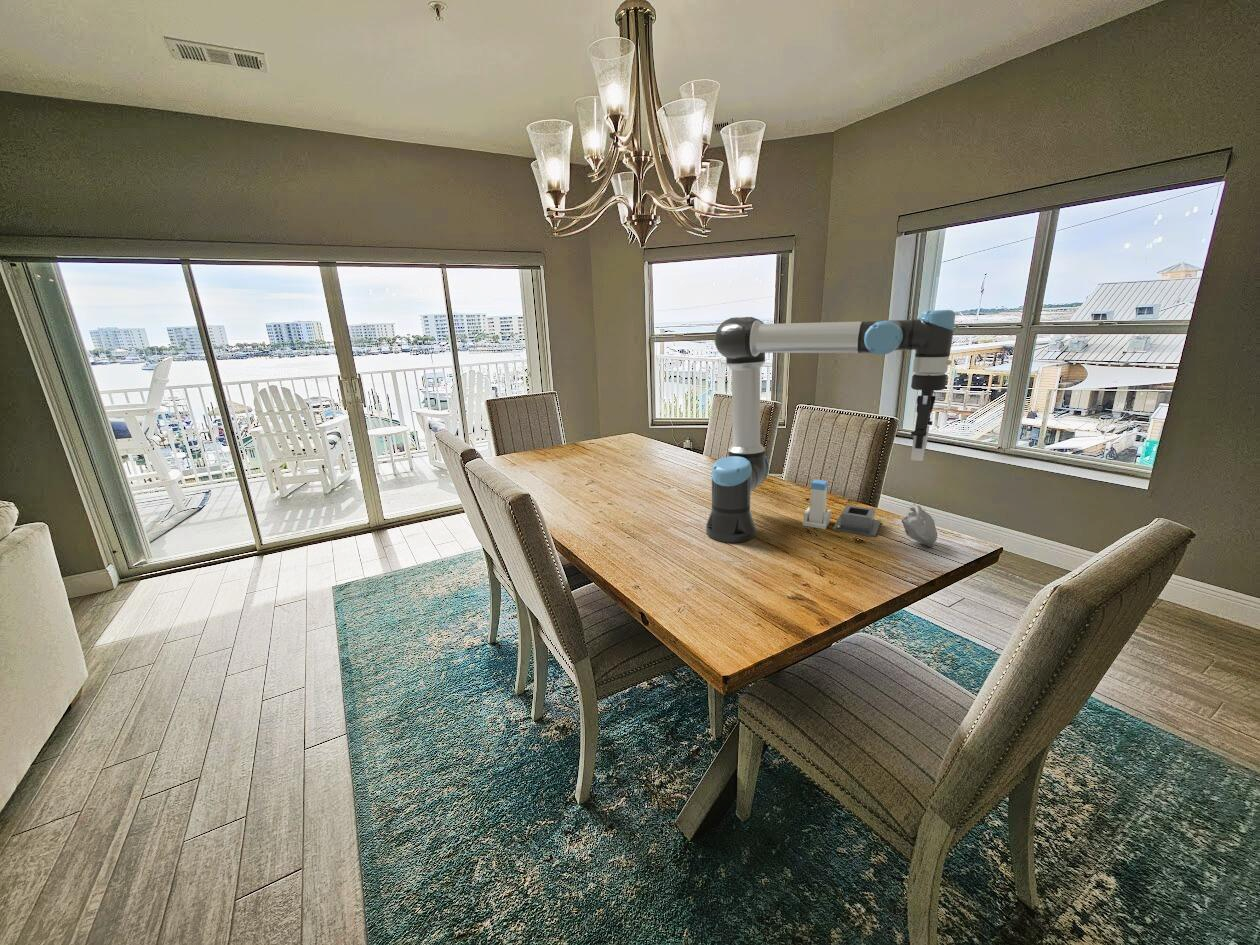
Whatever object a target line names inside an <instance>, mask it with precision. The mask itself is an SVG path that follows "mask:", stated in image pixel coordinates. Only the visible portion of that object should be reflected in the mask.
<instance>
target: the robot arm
mask: <svg viewBox="0 0 1260 945" xmlns="http://www.w3.org/2000/svg"><path fill="white" fill-rule="evenodd" d="M919 314H920V315H919V317H918V318H916V319H898V320H897V319H894V320H893V319H892V320H888V319H887V320H883V319H882V320H870V321H869V320H868V321H832V322H793V323H791V322H789V323H765V322H763V321H762V320H760V319H759V318H755V317H753V316H745V317H744V316H743V317H741V316H739V317H738V316H737V317H730V318H728V319H726V320H724V321H723V322H721V323H720V325H718V327H717V329H716V331H715V334H714V345H715V347H716V349H717V351H718V352H719V353H720V354H721V355H722V357H725V358H726V359H725V361H726V362H725V364H726V365H727V367H728V368H730V370H731V409H732V411H731V414H732V415H731V416H732V417H731V418H732V419H731V420H732V421H731V422H732V445H731V446H730V447H729V448H728V449H727V452H728V454H727V456H726V457H721V458H719V459H717V460H715V461H714V462H713V464H712V467H711V473H710V474H711V475H710V476H711V510H710V513H709V516H708V519H707V521H706V525H705V534H706V535H707V536H708V537H709V538H710V539H712V540H714V541H715V540H716V541H718V542H723V543H730V544H731V543H734V544H735V543H745V542H747V541H750V540H752V539H753V538H754V537H755V536H756V525H755V522H754V519H753V516H752V512H751V494H752V491H754V490H755V489H756V488H758V487H759V486H760V485H761V484H763V483H764V482H765V480H766V478H767V477H768V474H769V471H770V463H769V460H768V458H767V457H766V448H765V447H764V446H763V445H762V444H761V368H762V366H763V365H764V364H765V362H766V354H768V353H769V354H774V353H775V354H783V353H784V354H794V353H795V354H875V355H879V356H880V355H887V354H890V353H893V352H894V351H914V350H915V354H914V360H913V367H912V368H913V369H912V372H913V373H914V374H913V375H912V378H911V385H910V387H911V389H912V390H916V391H921V394H920V395H918V396H917V398H916V408H915V409H916V410H915V412H916V413H917V414H916V420H915V425H914V426H915V427H914V431H911V432H910V433H911V434H910V436H913V439H912V447H911V455H910V461H918V462H923V461H924V456H925V450H927V446H928V437H929V430H930V426H933V420H932V421H931V414H932V412H933V409H934V405H935V402H936V396H935V395H934V393H935V391H942V390H945V388H946V383H947V377H948V376H947V375H946V373H947V372H948V368H949V365H951V364H952V359H951V360H950V356H951V348H952V345H953V344H952V342H953V336H954V330H955V322H956V321H955V319H956V313H955V311H953V310H951V309H940V310H939V309H938V310H937V309H936V310H923V311H921V312H920V313H919Z"/></svg>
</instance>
